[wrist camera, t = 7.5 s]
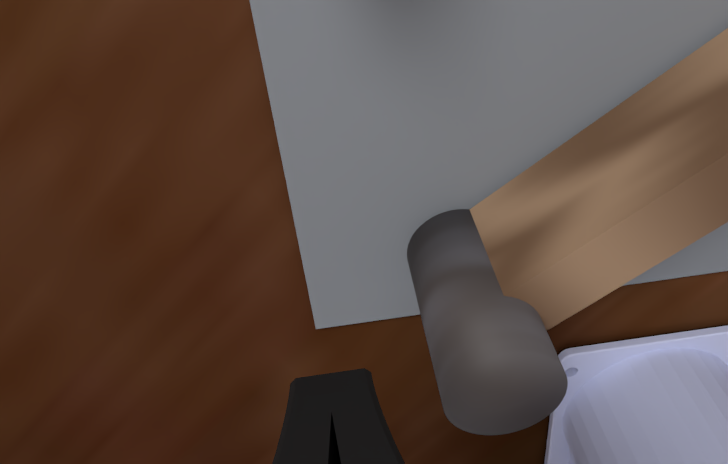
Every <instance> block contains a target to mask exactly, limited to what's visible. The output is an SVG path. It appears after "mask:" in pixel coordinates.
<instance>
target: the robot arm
mask: <svg viewBox="0 0 728 464" xmlns="http://www.w3.org/2000/svg"><path fill="white" fill-rule="evenodd" d="M558 357H559V360H560V362H561V364H562V366H563V369H564V371H565V373H566V376H567V381H568V386H567V391H566V394H565V396H564V398H563V400H562V402H561V403H560V405H559V406H558V407H557V408H556V409H555V410H554V411H553V412H552V413H551V414H550V420H549V429H548V437H547V445H546V454H545V462H544V464H728V325H726V326H719V327H712V328H705V329H698V330H691V331H684V332H677V333H670V334H664V335H657V336H650V337H643V338H636V339H629V340H622V341H615V342H608V343H601V344H594V345H587V346H580V347H573V348H568V349H565V350H563V351H562V352H561V353H560V354H559V355H558ZM272 464H405V463H404V461H403V459H402V457H401V455H400V453H399V451H398V448H397V446H396V444H395V442H394V440H393V437H392V435H391V433H390V430H389V428H388V425H387V423H386V420H385V418H384V416H383V413H382V410H381V407H380V405H379V402H378V398H377V395H376V392H375V388H374V385H373V380H372V375H371V372H370V371H368V370H366V369H357V370H350V371H343V372H336V373H329V374H322V375H315V376H308V377H301V378H296V379H295V380H294V381H293V382H292V383H291V384H290V392H289V399H288V404H287V409H286V414H285V419H284V423H283V427H282V431H281V435H280V439H279V443H278V446H277V450H276V454H275V457H274V460H273V463H272Z"/></svg>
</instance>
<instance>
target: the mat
mask: <svg viewBox="0 0 728 464" xmlns="http://www.w3.org/2000/svg"><path fill="white" fill-rule="evenodd" d="M250 5H251V10H252V15H253V20H254V25H255V30H256V35H257V40H258V45H259V50H260V55H261V60H262V65H263V69H264V74H265V79H266V84H267V89H268V94H269V99H270V104H271V109H272V114H273V119H274V124H275V129H276V134H277V139H278V144H279V149H280V154H281V159H282V164H283V168H284V173H285V178H286V183H287V188H288V193H289V198H290V203H291V208H292V213H293V218H294V223H295V228H296V233H297V238H298V243H299V248H300V253H301V258H302V263H303V268H304V272H305V277H306V282H307V287H308V292H309V297H310V302H311V307H312V312H313V317H314V322H315V327H316V329H320V328H327V327H334V326H341V325H348V324H355V323H362V322H370V321H377V320H384V319H391V318H398V317H405V316H412V315H419V314H420V310H419V306H418V302H417V297H416V293H415V289H414V285H413V281H412V277H411V273H410V268H409V264H408V260H407V248H408V244H409V242H410V239H411V237H412V236H413V234H414V233H415V231H416V230H417V229H418V228H419V227H420V226H421V225H422V224H423V223H424V222H426V221H427V220H429V219H430V218H432V217H434V216H436V215H438V214H440V213H443V212H446V211H450V210H457V209H471V208H472V207H474V206H475V205H477V204H478V203H479V202H481V201H482V200H484V199H485V198H487V197H488V196H489V195H491V194H492V193H494V192H495V191H497V190H498V189H499V188H501V187H502V186H504V185H505V184H506V183H508V182H509V181H511V180H512V179H514V178H515V177H516V176H518V175H519V174H521V173H522V172H524V171H525V170H526V169H528V168H529V167H531V166H532V165H534V164H535V163H536V162H538V161H539V160H541V159H542V158H543V157H545V156H546V155H548V154H549V153H551V152H552V151H553V150H555V149H556V148H558V147H559V146H561V145H562V144H563V143H565V142H566V141H568V140H569V139H571V138H572V137H573V136H575V135H576V134H578V133H579V132H580V131H582V130H583V129H585V128H586V127H588V126H589V125H590V124H592V123H593V122H595V121H596V120H598V119H599V118H600V117H602V116H603V115H605V114H606V113H608V112H609V111H610V110H612V109H613V108H615V107H616V106H617V105H619V104H620V103H622V102H623V101H625V100H626V99H627V98H629V97H630V96H632V95H633V94H635V93H636V92H637V91H639V90H640V89H642V88H643V87H645V86H646V85H647V84H649V83H650V82H652V81H653V80H654V79H656V78H657V77H659V76H660V75H662V74H663V73H664V72H666V71H667V70H669V69H670V68H672V67H673V66H674V65H676V64H677V63H679V62H680V61H682V60H683V59H684V58H686V57H687V56H689V55H690V54H691V53H693V52H694V51H696V50H697V49H699V48H700V47H701V46H703V45H704V44H706V43H707V42H709V41H710V40H711V39H713V38H714V37H716V36H717V35H719V34H720V33H721V32H723V31H724V30H726V29H727V28H728V0H250ZM722 271H728V222H727V223H725V224H724V225H722V226H720V227H719V228H717V229H715V230H714V231H712V232H710V233H709V234H707V235H705V236H704V237H702V238H700V239H699V240H697V241H695V242H694V243H692V244H690V245H689V246H687V247H685V248H684V249H682V250H680V251H679V252H677V253H675V254H674V255H672V256H670V257H669V258H667V259H665V260H664V261H662V262H660V263H659V264H657V265H655V266H654V267H652V268H650V269H649V270H647V271H645V272H644V273H642V274H640V275H639V276H637V277H635V278H634V279H632V280H630V281H629V282H627V283H625V284H624V285H630V284H637V283H644V282H651V281H658V280H665V279H673V278H680V277H687V276H694V275H701V274H708V273H715V272H722ZM622 286H623V285H622Z"/></svg>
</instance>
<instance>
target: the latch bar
mask: <svg viewBox="0 0 728 464" xmlns="http://www.w3.org/2000/svg"><path fill="white" fill-rule="evenodd" d="M727 222H728V28H727V29H726V30H724V31H723V32H721V33H720V34H719V35H717V36H716V37H714V38H713V39H711V40H710V41H709V42H707V43H706V44H704V45H703V46H701V47H700V48H699V49H697V50H696V51H694V52H693V53H691V54H690V55H689V56H687V57H686V58H684V59H683V60H682V61H680V62H679V63H677V64H676V65H674V66H673V67H672V68H670V69H669V70H667V71H666V72H664V73H663V74H662V75H660V76H659V77H657V78H656V79H654V80H653V81H652V82H650V83H649V84H647V85H646V86H645V87H643V88H642V89H640V90H639V91H637V92H636V93H635V94H633V95H632V96H630V97H629V98H627V99H626V100H625V101H623V102H622V103H620V104H619V105H617V106H616V107H615V108H613V109H612V110H610V111H609V112H608V113H606V114H605V115H603V116H602V117H600V118H599V119H598V120H596V121H595V122H593V123H592V124H590V125H589V126H588V127H586V128H585V129H583V130H582V131H580V132H579V133H578V134H576V135H575V136H573V137H572V138H571V139H569V140H568V141H566V142H565V143H563V144H562V145H561V146H559V147H558V148H556V149H555V150H553V151H552V152H551V153H549V154H548V155H546V156H545V157H543V158H542V159H541V160H539V161H538V162H536V163H535V164H534V165H532V166H531V167H529V168H528V169H526V170H525V171H524V172H522V173H521V174H519V175H518V176H516V177H515V178H514V179H512V180H511V181H509V182H508V183H506V184H505V185H504V186H502V187H501V188H499V189H498V190H497V191H495V192H494V193H492V194H491V195H489V196H488V197H487V198H485V199H484V200H482V201H481V202H479V203H478V204H477V205H475V206H474V207H472V208H471V209H457V210H450V211H446V212H443V213H440V214H438V215H436V216H434V217H432V218H430V219H429V220H427V221H426V222H424V223H423V224H422V225H421V226H420V227H419V228H418V229H417V230H416V231H415V233H414V234H413V236H412V237H411V239H410V242H409V244H408V248H407V260H408V264H409V268H410V273H411V277H412V281H413V285H414V289H415V293H416V297H417V302H418V306H419V310H420V314H421V318H422V322H423V326H424V331H425V335H426V339H427V343H428V347H429V351H430V356H431V360H432V364H433V368H434V372H435V376H436V380H437V385H438V389H439V393H440V397H441V401H442V405H443V409H444V413H445V415H446V417H447V418H448V420H449V421H450V422H451V423H452V424H453V425H455V426H456V427H458V428H459V429H461V430H464V431H466V432H470V433H474V434H479V435H501V434H507V433H512V432H516V431H519V430H522V429H525V428H527V427H530V426H532V425H534V424H536V423H538V422H540V421H541V420H543V419H544V418H546V417H547V416H548V415H550V414H551V413H552V412H553V411H554V410H555V409H556V408H557V407H558V406H559V405H560V403H561V402H562V400H563V398H564V396H565V394H566V391H567V386H568V381H567V376H566V373H565V371H564V369H563V366H562V364H561V362H560V360H559V357H558V355H557V353H556V351H555V348H554V346H553V344H552V342H551V339H550V337H549V335H548V333H547V330H549V329H550V328H552V327H554V326H555V325H557V324H559V323H560V322H562V321H564V320H565V319H567V318H569V317H570V316H572V315H574V314H575V313H577V312H579V311H580V310H582V309H584V308H585V307H587V306H589V305H590V304H592V303H594V302H595V301H597V300H599V299H600V298H602V297H604V296H605V295H607V294H609V293H610V292H612V291H614V290H615V289H617V288H619V287H620V286H622V285H624V284H625V283H627V282H629V281H630V280H632V279H634V278H635V277H637V276H639V275H640V274H642V273H644V272H645V271H647V270H649V269H650V268H652V267H654V266H655V265H657V264H659V263H660V262H662V261H664V260H665V259H667V258H669V257H670V256H672V255H674V254H675V253H677V252H679V251H680V250H682V249H684V248H685V247H687V246H689V245H690V244H692V243H694V242H695V241H697V240H699V239H700V238H702V237H704V236H705V235H707V234H709V233H710V232H712V231H714V230H715V229H717V228H719V227H720V226H722V225H724V224H725V223H727Z"/></svg>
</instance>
